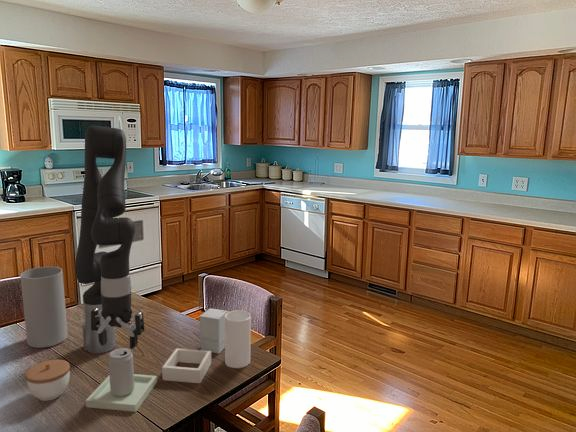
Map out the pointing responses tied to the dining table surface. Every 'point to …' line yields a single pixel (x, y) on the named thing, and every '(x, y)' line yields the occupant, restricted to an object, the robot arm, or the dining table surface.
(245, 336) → the cup
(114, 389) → the beverage can
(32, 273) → the cylinder vase
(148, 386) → the tray
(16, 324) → the dining table surface
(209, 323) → the supplement box
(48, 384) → the lidded jar
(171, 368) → the holder
